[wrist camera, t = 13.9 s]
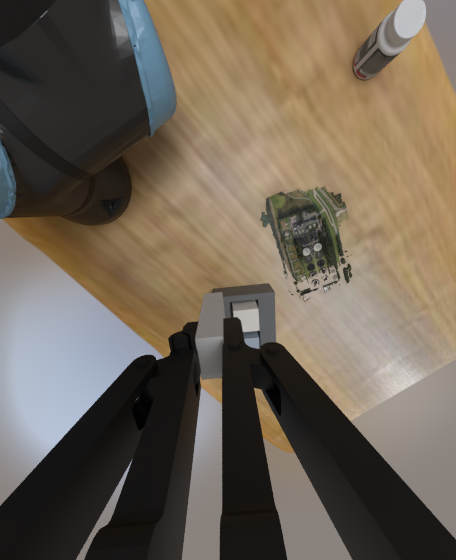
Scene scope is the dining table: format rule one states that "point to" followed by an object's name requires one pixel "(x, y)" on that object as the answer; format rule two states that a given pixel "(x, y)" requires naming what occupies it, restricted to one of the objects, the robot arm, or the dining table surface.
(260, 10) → the dining table surface
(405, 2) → the pill bottle
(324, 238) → the treatment plant
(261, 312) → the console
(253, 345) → the blue key
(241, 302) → the white key
